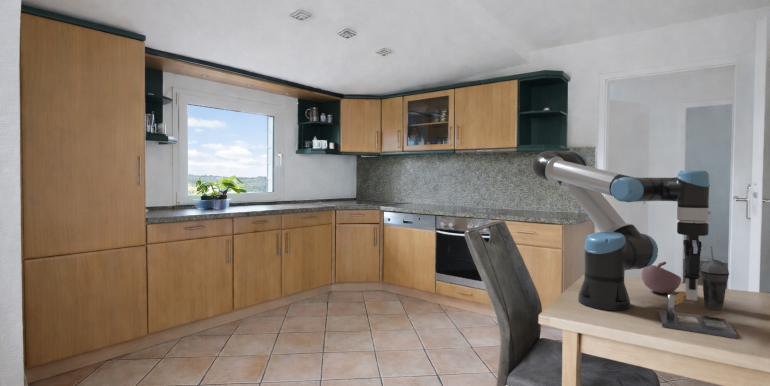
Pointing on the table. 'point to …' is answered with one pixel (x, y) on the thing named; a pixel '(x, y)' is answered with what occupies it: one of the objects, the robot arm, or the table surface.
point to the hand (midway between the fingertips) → (691, 299)
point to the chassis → (694, 321)
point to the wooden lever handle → (680, 297)
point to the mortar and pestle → (660, 279)
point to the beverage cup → (714, 282)
